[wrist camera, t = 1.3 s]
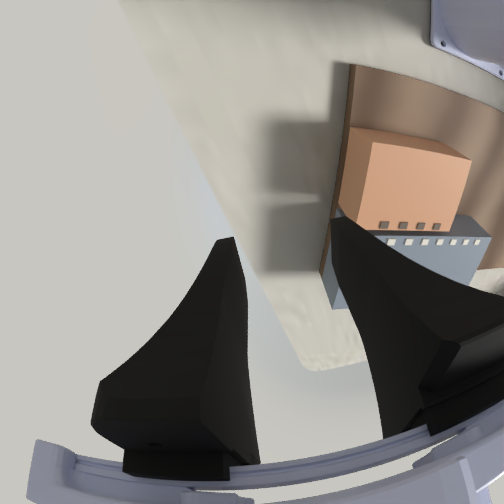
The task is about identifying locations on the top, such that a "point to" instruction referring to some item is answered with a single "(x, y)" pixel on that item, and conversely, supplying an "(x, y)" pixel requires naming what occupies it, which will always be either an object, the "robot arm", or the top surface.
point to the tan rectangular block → (401, 181)
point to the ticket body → (426, 252)
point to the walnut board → (436, 129)
